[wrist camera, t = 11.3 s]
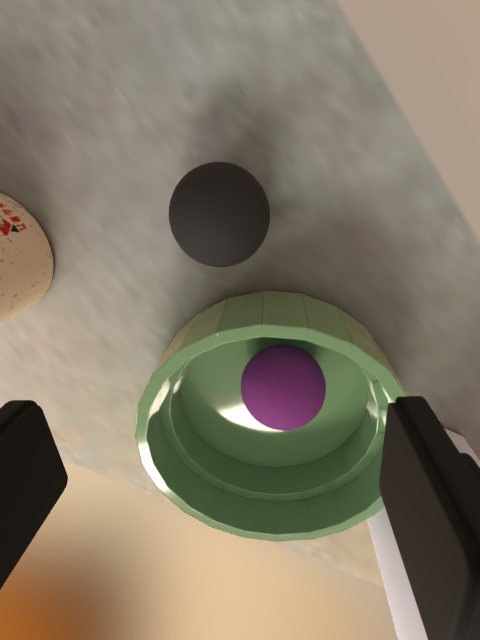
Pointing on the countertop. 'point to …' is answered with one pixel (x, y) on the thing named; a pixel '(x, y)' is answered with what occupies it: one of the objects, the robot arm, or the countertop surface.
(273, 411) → the purple ball
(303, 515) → the green bowl
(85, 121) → the countertop surface
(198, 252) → the charcoal ball
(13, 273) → the teacup with lid
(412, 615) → the soap bottle
